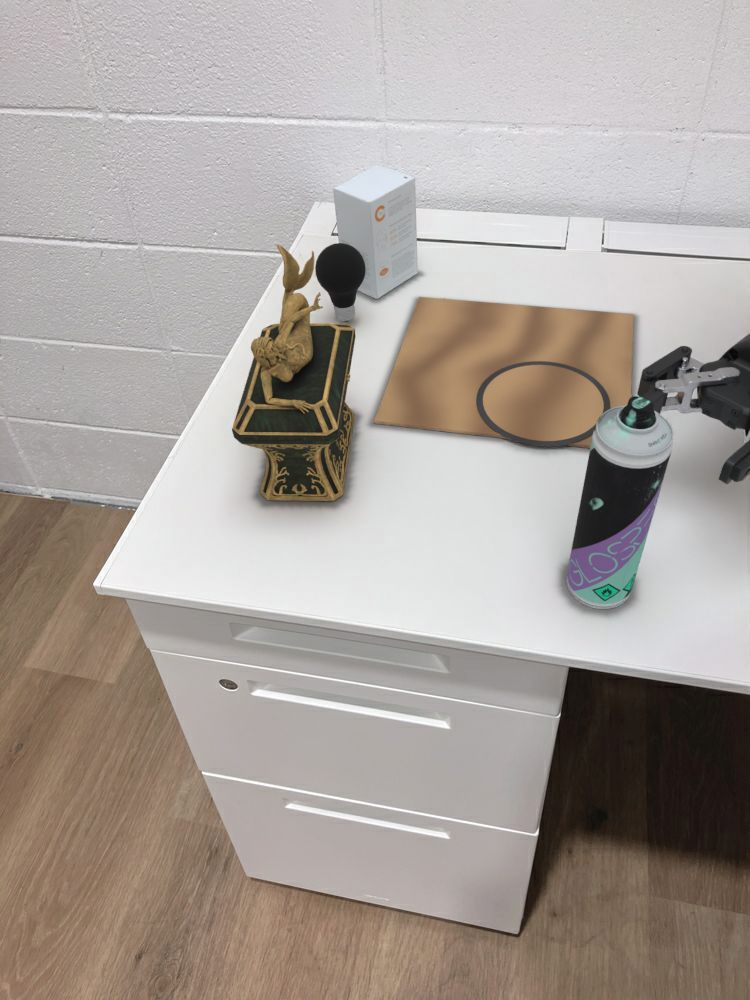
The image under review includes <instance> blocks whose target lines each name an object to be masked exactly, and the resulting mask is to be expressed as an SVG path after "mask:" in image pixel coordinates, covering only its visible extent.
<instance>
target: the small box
mask: <svg viewBox="0 0 750 1000" xmlns="http://www.w3.org/2000/svg"><path fill="white" fill-rule="evenodd" d="M332 191H333V192H332V193H333V200H334V210H335V218H336V229H337V237H338V243H344V244H348V245H351V246H353V247H354V248H355V249H357V250H358V251H359V252H360V254H361V255H362V257H363V259H364V262H365V268H366V271H365V277H364V280H363V282H362V284H361V285H360V287H359V288H358V290H357V292H360V293H362V294H365V295H366V296H369V297H370V298H373V299H375V300H378V299H380V298H381V297H383V296H384V295H386V294H387V293H389V292H391V291H392V290H393V289H395V288H397V287H398V286H400V285H402V284H403V283H404V282H406V281H408V280H409V279H411V278H413V277H415V276H416V275H417V274H419V268H418V267H419V266H418V264H419V263H418V236H417V235H418V234H417V233H418V232H417V230H418V229H417V197H416V177H415V176H412V175H410V174H407V173H404V172H402V171H400V170H396V169H392V168H390V167H387V166H384V165H381V164H376V165H374V166H372V167H370V168H369V169H367V170H365V171H363V172H362V173H359V174H357V175H356V176H354V177H352V178H350V179H348V180H346V181H344V182H342V183H340V184H338V185H336V186H334V187H333V188H332Z"/></svg>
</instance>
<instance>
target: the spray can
mask: <svg viewBox="0 0 750 1000" xmlns="http://www.w3.org/2000/svg"><path fill="white" fill-rule="evenodd" d="M653 408H654V404H653V403H652V402H650V401H648V400H646V399H644V398H642V397H639V396H638V395H635V396H631V398H630V399H629V401H628V404H627V405H626V406H619V407H615V408H612V409H609V410H607V411H606V412H604V413H603V414H602V415H601V416H600V417H599V419H598V420H597V424H596V427H595V428H594V432H593V437H592V442H591V447H590V448H589V454H588V459H587V463H586V470H585V474H584V481H583V485H582V491H581V496H580V501H579V507H578V511H577V512H578V513H577V518H576V523H575V529H574V534H573V540H572V545H571V550H570V555H569V556H570V557H569V561H568V566H567V570H566V571H567V572H566V579H565V580H566V586H567V589H568V591H569V593H570V595H572V597H573V598H574V599H575V600H577V601H578V602H579V603H581V604H582V605H584V606H586V607H589V608H592V609H597V610H610V609H614V608H617V607H620V606H621V605H623V604H624V603H625V602H626V601H627V600H628V599H629V597H630V595H631V593H632V590H633V587H634V584H635V580H636V576H637V573H638V570H639V566H640V563H641V559H642V556H643V552H644V549H645V546H646V542H647V538H648V535H649V531H650V529H651V528H650V527H651V524H652V521H653V517H654V514H655V510H656V506H657V504H658V500H659V497H660V493H661V489H662V487H663V484H664V483H663V482H664V479H665V475H666V472H667V468H668V465H669V461H670V458H671V454H672V450H673V448H674V437H675V432H674V431H675V430H674V428H673V426H672V424H671V422H670V421H669V420H668V419H667V418H666V417H665V416H664V415H662V414H661V413H660V414H659V413H657V412H656V411H654V410H653Z"/></svg>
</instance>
